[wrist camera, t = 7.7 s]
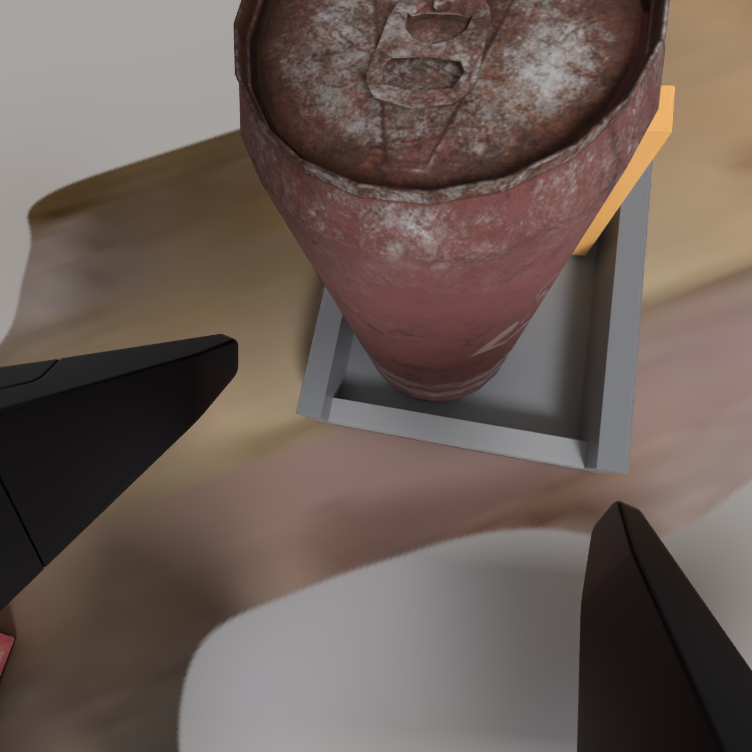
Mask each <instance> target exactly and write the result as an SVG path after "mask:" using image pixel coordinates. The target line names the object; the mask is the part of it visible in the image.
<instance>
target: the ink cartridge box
mask: <svg viewBox="0 0 752 752" xmlns="http://www.w3.org/2000/svg"><path fill="white" fill-rule="evenodd" d="M13 642H14V638H13V637H12V636H7V635H5V634H2V633H0V676H1V673H2V671H3V668H4V665H5V663H6V660H7V658H8V655H9V652H10V650H11V647H12V644H13Z"/></svg>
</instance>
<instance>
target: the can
mask: <svg viewBox="0 0 752 752" xmlns="http://www.w3.org/2000/svg"><path fill="white" fill-rule="evenodd" d="M669 2H670V0H241V3H240V6H239V9H238V12H237V15H236V18H235V21H234V54H235V75H236V77H237V80H238V82H239V95H240V96H239V97H240V130H241V137H242V139H243V141H244V144H245V146H246V148H247V151H248V153H249V155H250V158H251V160H252V162H253V165H254V167H255V169H256V172H257V174H258V176H259V179H260V181H261V183H262V185H263V187H264V188H265V190H266V191H267V193H268V195H269V196H270V198H271V199H272V201H273V203H274V204H275V206H276V208H277V209H278V211H279V212H280V214H281V216H282V217H283V219H284V220H285V222H286V224H287V225H288V227H289V229H290V230H291V232H292V233H293V235H294V237H295V238H296V240H297V241H298V243H299V245H300V246H301V248H302V250H303V251H304V253H305V254H306V256H307V258H308V259H309V261H310V262H311V264H312V266H313V267H314V269H315V271H316V272H317V274H318V275H319V277H320V279H321V280H322V282H323V283H324V285H325V287H326V288H327V290H328V292H329V293H330V295H331V296H332V298H333V300H334V301H335V303H336V304H337V306H338V308H339V309H340V311H341V313H342V314H343V316H344V317H345V319H346V321H347V322H348V324H349V325H350V327H351V329H352V330H353V332H354V334H355V335H356V337H357V338H358V340H359V342H360V343H361V345H362V346H363V348H364V350H365V351H366V353H367V354H368V356H369V358H370V359H371V361H372V363H373V364H374V366H375V367H376V369H377V371H378V372H379V373H380V374H381V375H382V376H383V377H384V378H385V379H386V380H387V381H388V383H389V384H390V385H391V386H392V387H394V388H395V389H397V390H399V391H401V392H403V393H405V394H406V395H408V396H410V397H412V398H416V399H422V400H427V401H432V402H440V401H448V400H456V399H460V398H462V397H464V396H466V395H469V394H471V393H473V392H475V391H477V390H479V389H481V388H482V387H483V386H484V385H485V384H486V383H487V382H488V381H489V380H490V379H491V378H493V377H494V376H495V375H496V374H497V372H498V371H499V369H500V367H501V366H502V364H503V363H504V361H505V359H506V358H507V356H508V355H509V353H510V352H511V350H512V348H513V347H514V345H515V344H516V342H517V340H518V339H519V337H520V336H521V334H522V333H523V331H524V329H525V328H526V326H527V325H528V323H529V322H530V320H531V318H532V317H533V315H534V314H535V312H536V310H537V309H538V307H539V306H540V304H541V303H542V301H543V299H544V298H545V296H546V295H547V293H548V291H549V290H550V288H551V287H552V285H553V284H554V282H555V280H556V279H557V277H558V276H559V274H560V272H561V271H562V269H563V268H564V266H565V265H566V263H567V261H568V260H569V258H570V257H571V255H572V253H573V252H574V250H575V249H576V247H577V246H578V244H579V242H580V241H581V239H582V238H583V236H584V234H585V233H586V231H587V230H588V228H589V227H590V225H591V223H592V222H593V220H594V219H595V217H596V216H597V214H598V212H599V211H600V209H601V208H602V206H603V204H604V203H605V201H606V200H607V198H608V197H609V195H610V193H611V192H612V190H613V189H614V187H615V185H616V184H617V182H618V181H619V179H620V178H621V176H622V174H623V173H624V171H625V170H626V168H627V166H628V164H629V163H630V161H631V159H632V157H633V155H634V153H635V151H636V150H637V148H638V146H639V144H640V142H641V140H642V139H643V137H644V135H645V133H646V131H647V129H648V127H649V126H650V124H651V122H652V120H653V118H654V116H655V114H656V113H657V111H658V109H659V100H660V91H661V82H662V73H663V64H664V55H665V38H666V29H667V20H668V11H669Z"/></svg>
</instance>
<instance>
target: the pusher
mask: <svg viewBox="0 0 752 752" xmlns="http://www.w3.org/2000/svg"><path fill="white" fill-rule="evenodd" d="M674 93H675V86H661V91H660V100H659V109H658V111H657V113H656V114H655V116H654V118H653V120H652V122H651V124H650V126H649V127H648V129H647V131H646V133H645V135H644V137H643V139H642V140H641V142H640V144H639V146H638V148H637V150H636V151H635V153H634V155H633V157H632V159H631V161H630V163H629V164H628V166H627V168H626V170H625V171H624V173H623V174H622V176H621V178H620V179H619V181H618V182H617V184H616V185H615V187H614V189H613V190H612V192H611V193H610V195H609V197H608V198H607V200H606V201H605V203H604V204H603V206H602V208H601V209H600V211H599V212H598V214H597V216H596V217H595V219H594V220H593V222H592V223H591V225H590V227H589V228H588V230H587V231H586V233H585V234H584V236H583V238H582V239H581V241H580V242H579V244H578V246H577V247H576V249H575V250H574V252H573V253H572V255H582V256H586V254H587V253H588V251H589V250H590V248H591V247H592V246H593V244H594V243H595V241H596V240H597V238H598V237H599V236H600V234H601V233H602V231H603V230H604V228H605V227H606V225H607V224H608V223H609V221H610V220H611V218H612V217H613V215H614V214H615V213H616V211H617V210H618V208H619V207H620V205H621V204H622V203H623V201H624V200H625V198H626V197H627V195H628V194H629V192H630V191H631V190H632V188H633V187H634V185H635V184H636V182H637V181H638V180H639V178H640V177H641V175H642V174H643V172H644V171H645V170H646V168H647V167H648V165H649V164H650V162H651V161H652V160H653V158H654V157H655V155H656V154H657V152H658V151H659V149H660V148H661V147H662V145H663V144H664V142H665V141H666V139H667V138H668V137H669V135H670V134H671V132H672V122H673V107H674Z"/></svg>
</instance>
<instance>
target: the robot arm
mask: <svg viewBox="0 0 752 752" xmlns="http://www.w3.org/2000/svg"><path fill="white" fill-rule="evenodd" d="M237 370H238V343H237V341H236V340H235V339H233V338H231V337H228V336H226V335H223V334H217V335H211V336H204V337H198V338H191V339H185V340H178V341H172V342H165V343H159V344H152V345H146V346H139V347H133V348H126V349H120V350H113V351H107V352H100V353H94V354H87V355H81V356H74V357H68V358H61V359H60V360H58V359H54V360H48V361H41V362H34V363H27V364H20V365H13V366H6V367H0V611H1V610H2V609H3V608H4V607H5V606H6V605H7V604H8V603H9V602H10V601H11V600H12V599H13V598H14V597H15V596H16V595H17V594H18V593H19V592H20V591H21V590H23V589H24V588H25V587H26V586H27V585H28V584H29V583H30V582H31V581H32V580H33V579H34V578H35V577H36V576H37V575H38V574H39V573H40V572H41V571H42V570H43V569H44V567H46V566H47V565H48V564H49V563H50V562H51V561H52V560H53V559H54V558H55V557H56V556H57V555H59V554H60V553H61V552H62V551H63V550H64V549H65V548H66V547H67V546H68V545H69V544H70V543H71V542H72V541H73V540H74V539H75V538H76V537H77V536H78V535H79V534H80V533H81V532H82V531H83V530H84V529H86V528H87V527H88V526H89V525H90V524H91V523H92V522H93V521H94V520H95V519H96V518H97V517H98V516H99V515H100V514H101V513H102V512H103V511H104V510H105V509H106V508H107V507H108V506H109V505H110V504H111V503H112V502H114V501H115V500H116V499H117V498H118V497H119V496H120V495H121V494H122V493H123V492H124V491H125V490H126V489H127V488H128V487H129V486H130V485H131V484H132V483H133V482H134V481H135V480H136V479H137V478H138V477H139V476H141V475H142V474H143V473H144V472H145V471H146V470H147V469H148V468H149V467H150V466H151V465H152V464H153V463H154V462H155V461H156V460H157V459H158V458H159V457H160V456H161V455H162V454H163V453H164V452H165V451H166V450H167V449H169V448H170V447H171V446H172V445H173V444H174V443H175V442H176V441H177V440H178V439H179V438H180V437H181V436H182V435H183V434H184V433H185V432H186V431H187V430H188V429H189V428H190V427H191V426H192V425H193V424H194V423H195V422H196V421H197V420H198V419H199V418H200V417H201V416H202V415H203V414H204V412H205V411H206V410H207V409H208V408H209V406H210V405H211V404H212V403H213V402H214V401H215V399H216V398H217V397H218V396H219V395H220V393H221V392H222V391H223V390H224V389H225V387H226V386H227V385H228V384H229V383H230V381H231V380H232V379H233V378H234V376H235V375H236V373H237ZM577 752H752V670H751V669H750V667H749V666H748V664H747V663H746V662H745V660H744V659H743V657H742V656H741V654H740V653H739V651H738V650H737V649H736V647H735V646H734V644H733V643H732V642H731V640H730V639H729V637H728V636H727V634H726V633H725V631H724V630H723V629H722V627H721V626H720V624H719V623H718V621H717V620H716V618H715V617H714V616H713V614H712V613H711V611H710V610H709V608H708V607H707V606H706V604H705V603H704V601H703V600H702V599H701V597H700V596H699V594H698V593H697V591H696V590H695V588H694V587H693V585H692V584H691V583H690V581H689V580H688V578H687V577H686V576H685V574H684V573H683V571H682V570H681V568H680V567H679V566H678V564H677V563H676V561H675V560H674V558H673V557H672V555H671V554H670V553H669V551H668V550H667V548H666V547H665V545H664V544H663V542H662V541H661V540H660V538H659V537H658V535H657V534H656V532H655V531H654V530H653V528H652V527H651V525H650V524H649V522H648V521H647V520H646V518H645V517H644V515H643V514H642V512H641V511H640V510H639V509H637V508H635V507H633V506H630V505H628V504H626V503H623V502H621V501H617V502H615V503H613V504H612V505H611V506H610V507H609V509H608V510H607V511H606V512H605V514H604V515H603V516H602V517H601V518H600V520H599V521H598V522H597V523H596V525H595V526H594V528H593V531H592V535H591V541H590V548H589V554H588V561H587V567H586V573H585V580H584V587H583V593H582V601H581V616H580V653H579V693H578V730H577Z"/></svg>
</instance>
